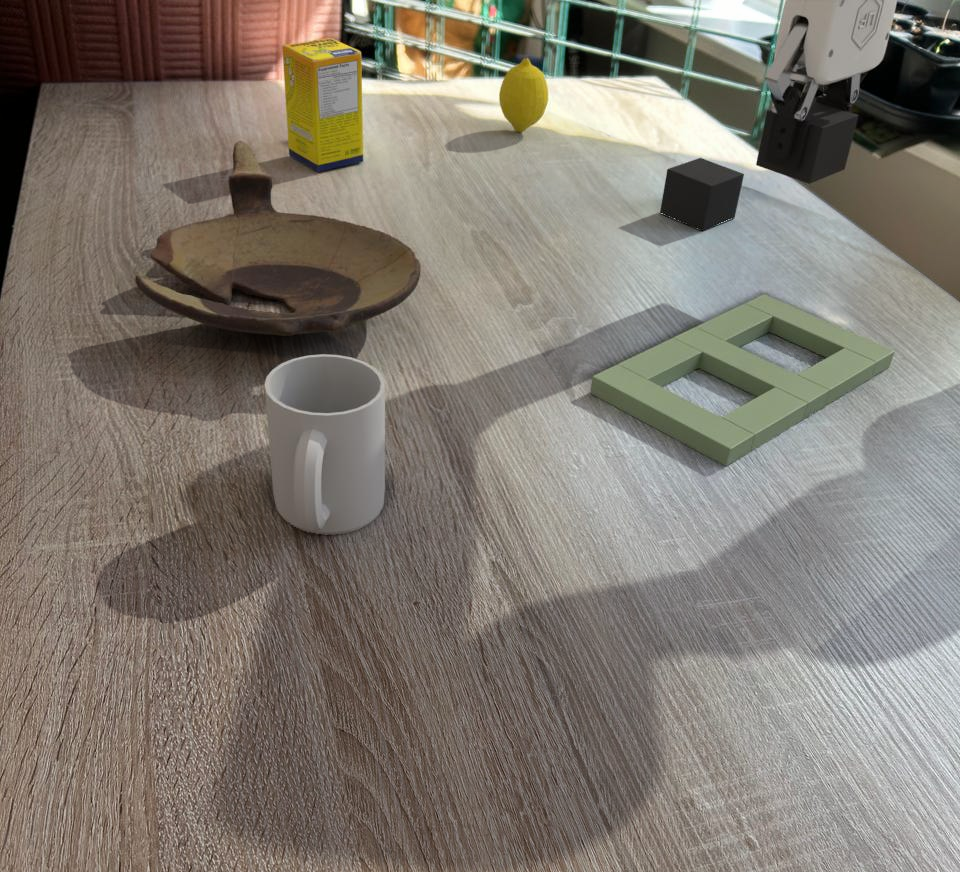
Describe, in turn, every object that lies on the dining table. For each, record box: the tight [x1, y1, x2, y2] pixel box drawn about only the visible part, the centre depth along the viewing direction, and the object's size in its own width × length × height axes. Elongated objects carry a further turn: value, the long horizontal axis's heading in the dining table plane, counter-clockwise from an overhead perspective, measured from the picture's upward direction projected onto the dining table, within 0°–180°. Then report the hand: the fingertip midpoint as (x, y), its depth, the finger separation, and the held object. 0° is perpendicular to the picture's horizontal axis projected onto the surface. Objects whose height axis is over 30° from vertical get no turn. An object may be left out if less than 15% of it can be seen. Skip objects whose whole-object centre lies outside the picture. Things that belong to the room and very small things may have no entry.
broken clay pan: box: [134, 140, 421, 337], centre depth 91 cm, size 22×30×8 cm
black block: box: [755, 100, 860, 185], centre depth 94 cm, size 6×6×4 cm
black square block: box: [659, 157, 745, 232], centre depth 111 cm, size 6×6×4 cm
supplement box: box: [281, 37, 364, 173], centre depth 114 cm, size 6×6×11 cm
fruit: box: [498, 56, 549, 133], centre depth 125 cm, size 6×6×8 cm
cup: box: [264, 353, 386, 536], centre depth 68 cm, size 7×10×9 cm
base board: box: [589, 293, 896, 467], centre depth 88 cm, size 23×13×2 cm, turn 135°
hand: (803, 155), depth 94 cm, fingers closed on black block, 5 cm apart
